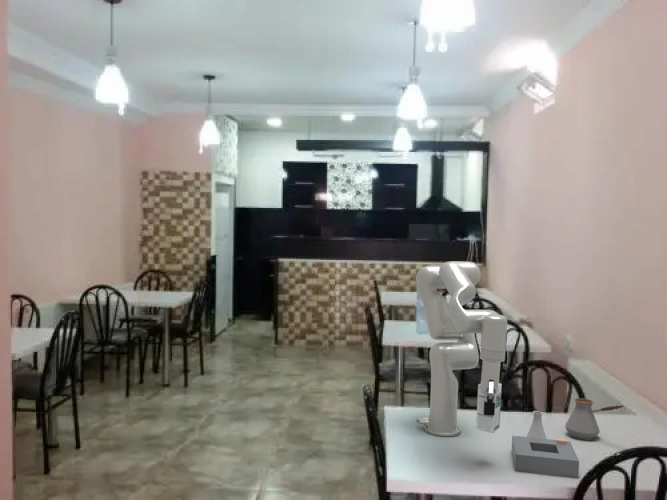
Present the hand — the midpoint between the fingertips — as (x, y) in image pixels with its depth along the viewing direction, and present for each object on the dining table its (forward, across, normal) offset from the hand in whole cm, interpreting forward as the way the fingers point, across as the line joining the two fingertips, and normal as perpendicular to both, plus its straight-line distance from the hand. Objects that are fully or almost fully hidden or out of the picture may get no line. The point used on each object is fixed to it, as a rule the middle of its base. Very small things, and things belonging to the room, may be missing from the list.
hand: (488, 410), depth 199 cm
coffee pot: (+17, -33, +38) cm, 53 cm away
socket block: (+16, -4, +18) cm, 24 cm away
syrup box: (+6, 0, 0) cm, 6 cm away
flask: (+17, -26, +18) cm, 36 cm away
